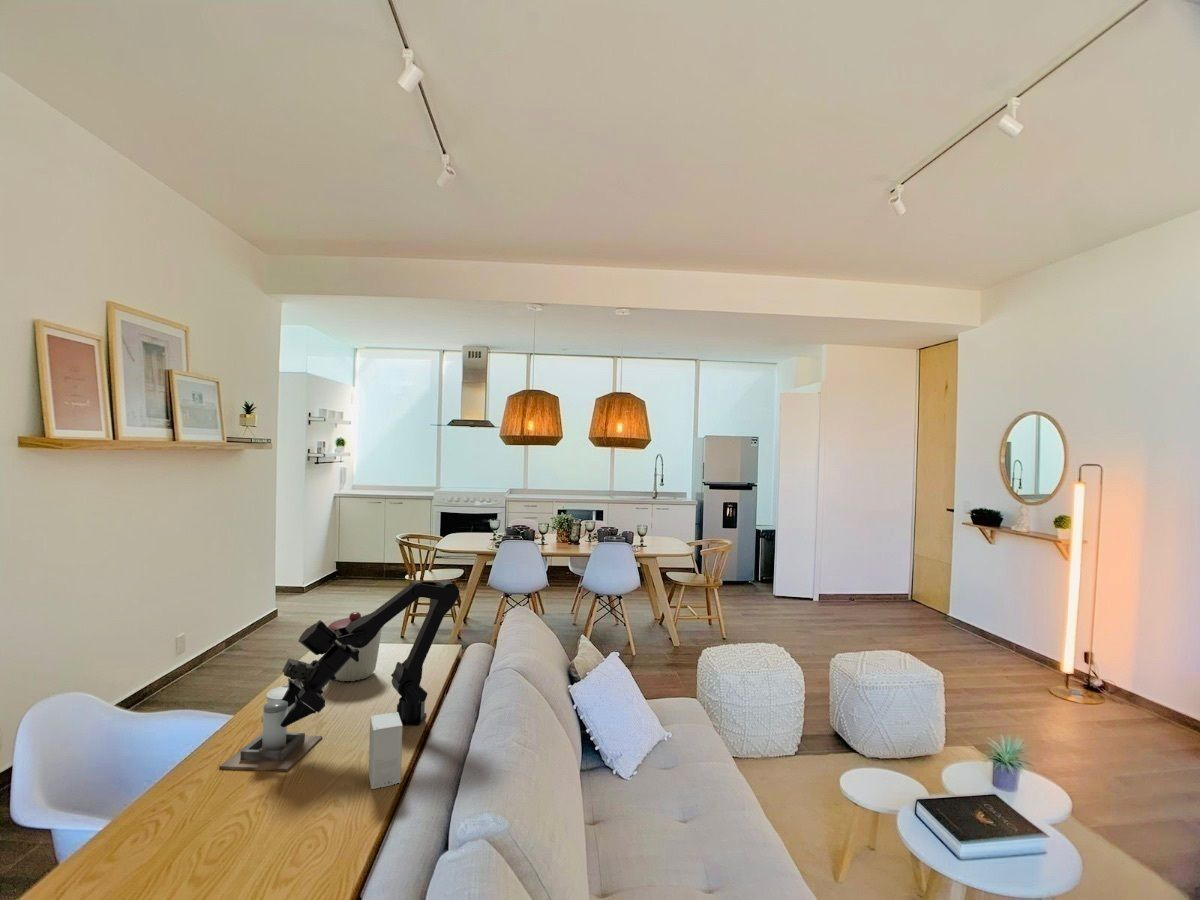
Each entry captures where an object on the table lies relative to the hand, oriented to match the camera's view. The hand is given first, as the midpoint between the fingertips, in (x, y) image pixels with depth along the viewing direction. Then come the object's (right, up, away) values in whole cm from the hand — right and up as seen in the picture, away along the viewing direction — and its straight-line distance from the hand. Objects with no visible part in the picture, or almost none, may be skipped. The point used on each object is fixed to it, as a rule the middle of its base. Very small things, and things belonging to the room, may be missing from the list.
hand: (279, 719), depth 143 cm
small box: (+30, -9, -10) cm, 33 cm away
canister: (-3, -9, +49) cm, 50 cm away
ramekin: (-10, -8, +24) cm, 27 cm away
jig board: (-1, -8, -1) cm, 8 cm away
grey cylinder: (-1, -7, -1) cm, 7 cm away
